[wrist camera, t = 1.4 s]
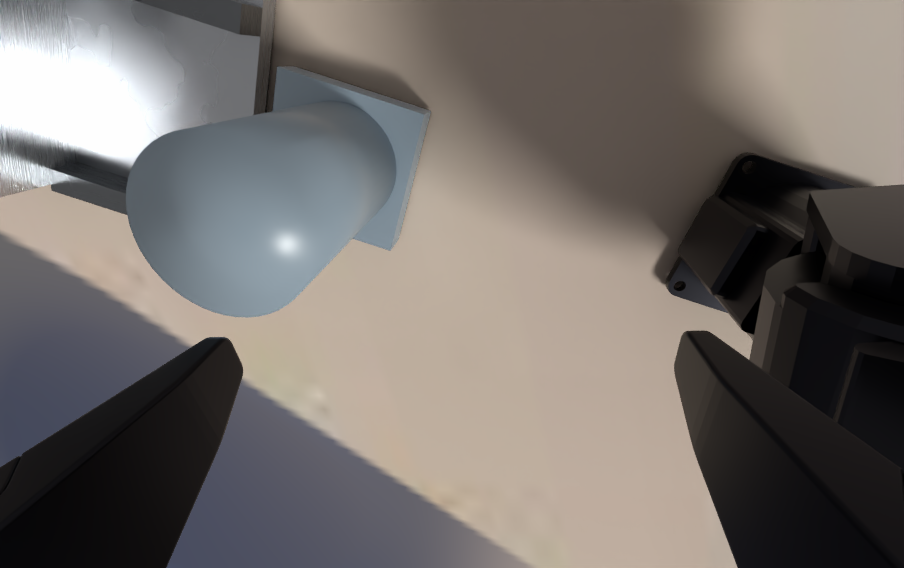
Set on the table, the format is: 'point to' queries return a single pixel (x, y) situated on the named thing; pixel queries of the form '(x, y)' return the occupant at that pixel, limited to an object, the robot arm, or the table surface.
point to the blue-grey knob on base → (274, 192)
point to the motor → (120, 84)
